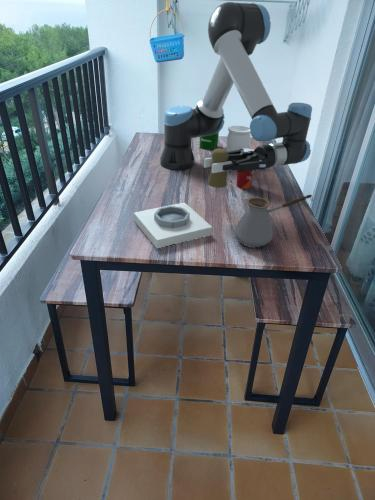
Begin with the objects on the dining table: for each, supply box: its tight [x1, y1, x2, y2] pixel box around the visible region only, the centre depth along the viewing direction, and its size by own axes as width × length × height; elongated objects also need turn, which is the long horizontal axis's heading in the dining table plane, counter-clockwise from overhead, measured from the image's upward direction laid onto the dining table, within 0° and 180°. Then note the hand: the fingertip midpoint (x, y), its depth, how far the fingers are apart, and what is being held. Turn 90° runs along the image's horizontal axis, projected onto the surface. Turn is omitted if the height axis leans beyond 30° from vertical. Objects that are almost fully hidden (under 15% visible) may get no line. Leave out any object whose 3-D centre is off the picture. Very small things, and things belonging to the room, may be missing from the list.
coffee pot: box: [233, 194, 314, 248], centre depth 104 cm, size 21×12×15 cm, turn 96°
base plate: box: [133, 202, 213, 250], centre depth 111 cm, size 18×18×5 cm
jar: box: [226, 125, 251, 152], centre depth 160 cm, size 11×10×15 cm
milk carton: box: [199, 132, 220, 151], centre depth 175 cm, size 9×9×20 cm
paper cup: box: [235, 147, 255, 190], centre depth 138 cm, size 8×8×14 cm
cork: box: [207, 148, 229, 189], centre depth 111 cm, size 6×6×11 cm
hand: (208, 165), depth 109 cm, fingers closed on cork, 4 cm apart
